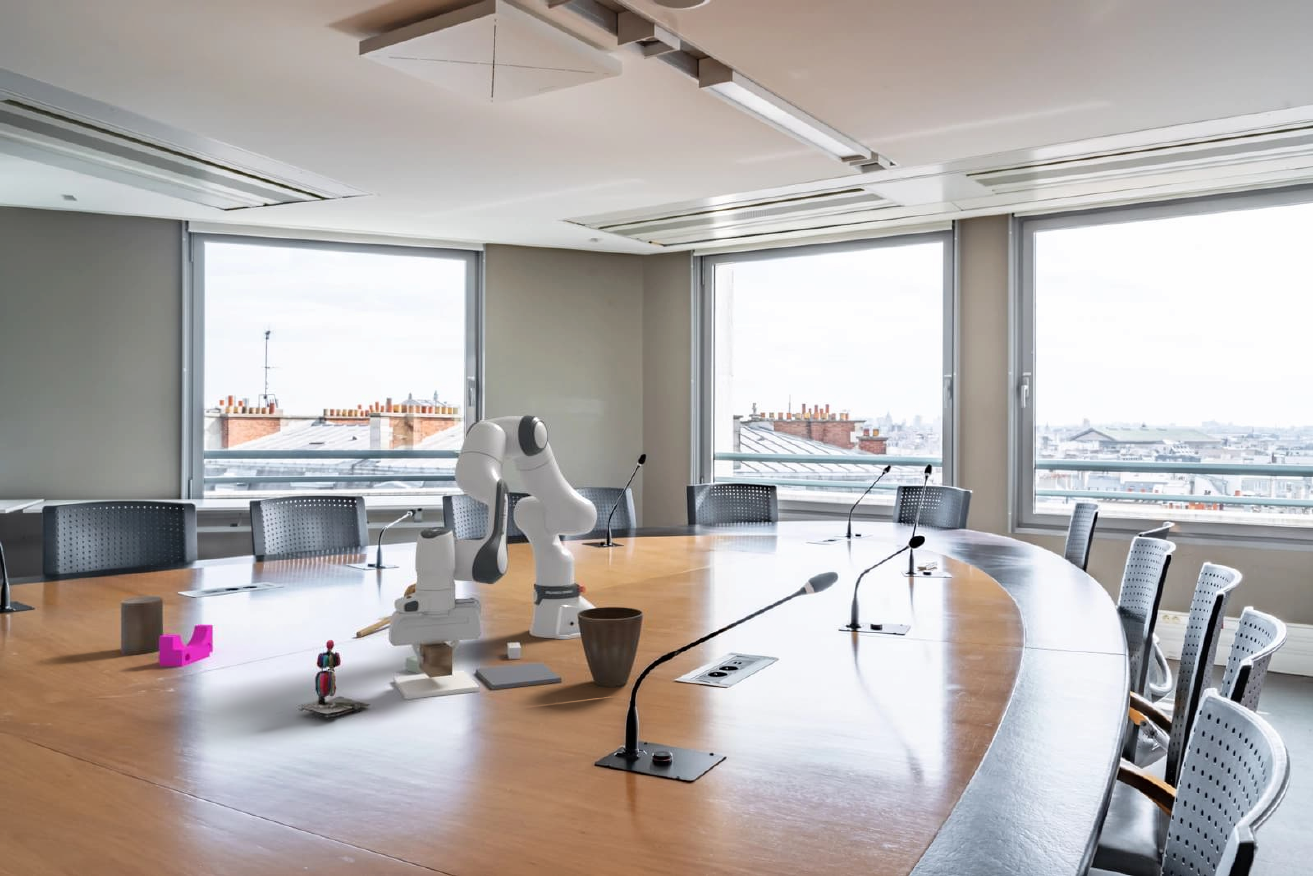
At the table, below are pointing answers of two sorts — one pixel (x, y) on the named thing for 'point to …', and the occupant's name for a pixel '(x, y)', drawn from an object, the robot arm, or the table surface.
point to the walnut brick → (436, 659)
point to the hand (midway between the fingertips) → (435, 662)
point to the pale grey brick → (514, 650)
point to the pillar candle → (141, 625)
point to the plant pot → (610, 642)
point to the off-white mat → (435, 685)
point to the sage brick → (413, 665)
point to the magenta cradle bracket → (186, 647)
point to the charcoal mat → (517, 675)
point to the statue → (330, 688)
